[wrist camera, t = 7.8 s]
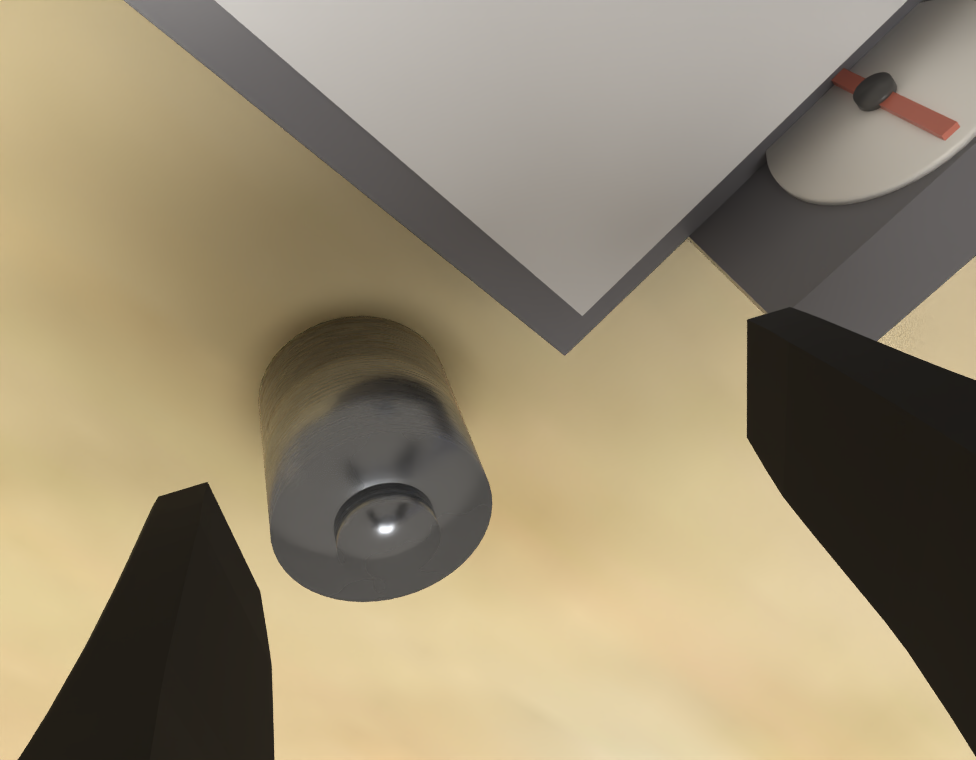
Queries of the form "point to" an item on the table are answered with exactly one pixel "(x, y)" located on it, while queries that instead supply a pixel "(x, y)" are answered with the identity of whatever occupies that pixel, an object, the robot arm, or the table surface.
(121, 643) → the robot arm
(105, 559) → the table surface
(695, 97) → the scale
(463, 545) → the cylinder
